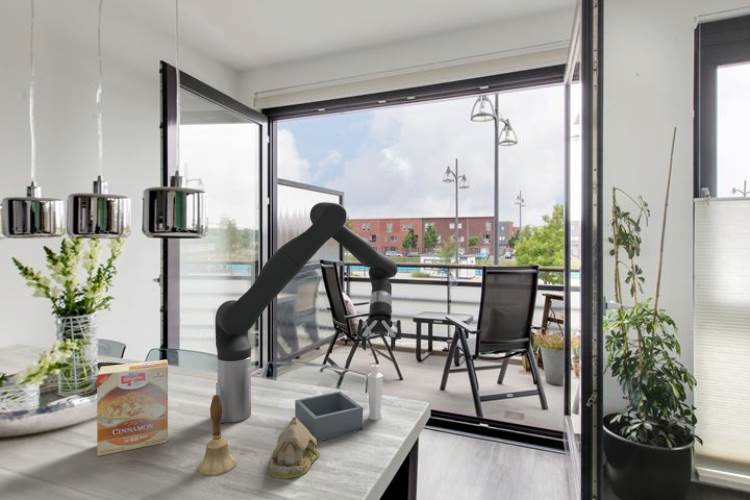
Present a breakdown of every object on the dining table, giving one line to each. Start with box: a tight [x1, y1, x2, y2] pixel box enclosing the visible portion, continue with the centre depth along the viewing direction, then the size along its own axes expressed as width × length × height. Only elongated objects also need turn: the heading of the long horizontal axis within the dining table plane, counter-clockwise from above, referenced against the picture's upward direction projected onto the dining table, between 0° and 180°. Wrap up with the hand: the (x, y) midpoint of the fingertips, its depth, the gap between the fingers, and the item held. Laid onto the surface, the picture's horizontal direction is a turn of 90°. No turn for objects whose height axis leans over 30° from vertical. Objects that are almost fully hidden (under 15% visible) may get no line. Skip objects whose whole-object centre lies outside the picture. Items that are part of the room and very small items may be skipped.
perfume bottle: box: [367, 364, 384, 421], centre depth 119 cm, size 5×4×15 cm
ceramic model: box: [269, 416, 320, 479], centre depth 95 cm, size 14×11×10 cm
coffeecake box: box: [96, 359, 169, 457], centre depth 102 cm, size 15×7×20 cm, turn 117°
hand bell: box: [197, 394, 238, 477], centre depth 93 cm, size 8×8×16 cm
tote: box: [294, 390, 364, 443], centre depth 113 cm, size 14×14×6 cm
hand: (378, 349), depth 129 cm, fingers open, 8 cm apart
